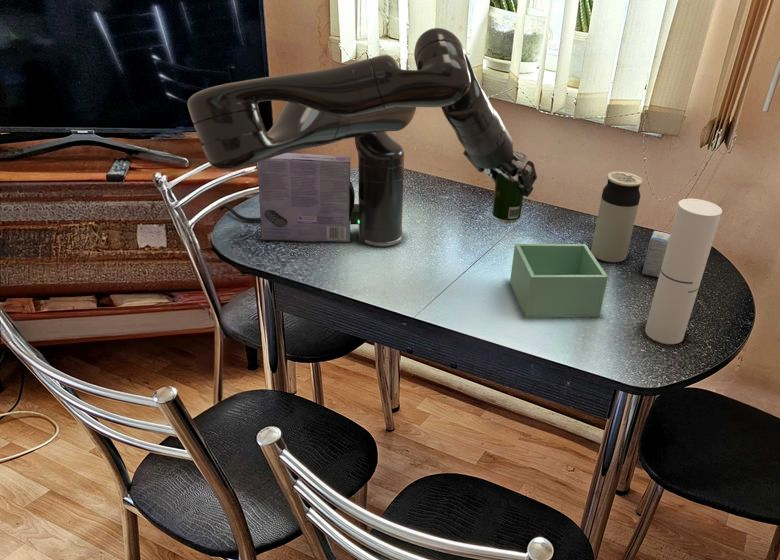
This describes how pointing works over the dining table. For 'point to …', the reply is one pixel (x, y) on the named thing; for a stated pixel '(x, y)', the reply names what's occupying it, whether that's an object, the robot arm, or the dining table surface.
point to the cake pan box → (305, 197)
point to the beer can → (508, 197)
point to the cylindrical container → (682, 269)
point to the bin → (557, 280)
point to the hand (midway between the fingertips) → (515, 187)
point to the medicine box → (655, 253)
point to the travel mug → (616, 216)
